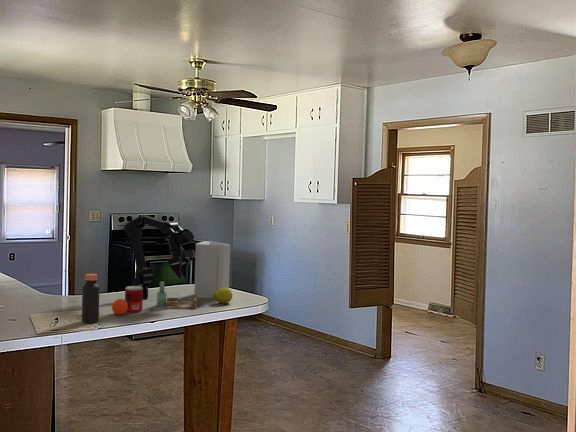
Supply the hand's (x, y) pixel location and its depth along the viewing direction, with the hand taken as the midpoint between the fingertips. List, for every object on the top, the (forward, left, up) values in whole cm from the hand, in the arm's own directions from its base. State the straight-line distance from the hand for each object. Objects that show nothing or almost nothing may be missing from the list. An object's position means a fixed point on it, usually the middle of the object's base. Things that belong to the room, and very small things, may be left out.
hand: (182, 278), depth 290 cm
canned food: (-22, -12, -14) cm, 29 cm away
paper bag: (+13, +26, -14) cm, 32 cm away
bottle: (-10, 0, -13) cm, 17 cm away
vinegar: (-38, -33, -14) cm, 52 cm away
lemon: (+20, +6, -14) cm, 25 cm away
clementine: (-27, -19, -14) cm, 36 cm away
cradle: (-1, 0, -13) cm, 13 cm away
